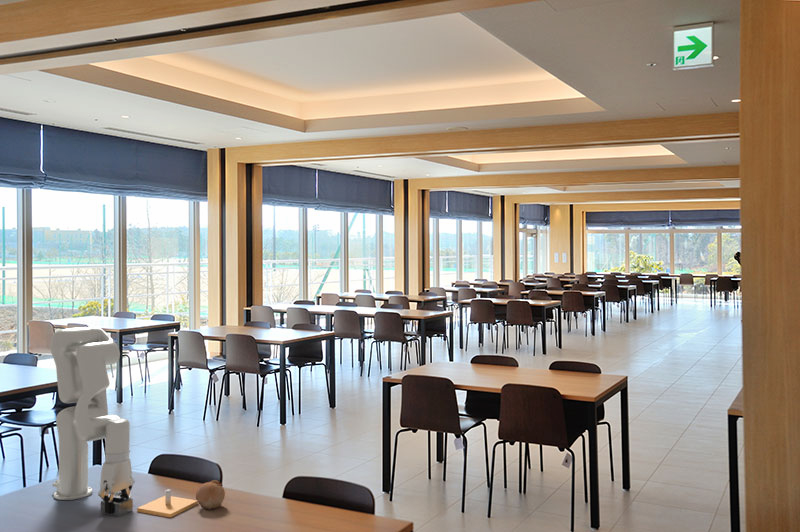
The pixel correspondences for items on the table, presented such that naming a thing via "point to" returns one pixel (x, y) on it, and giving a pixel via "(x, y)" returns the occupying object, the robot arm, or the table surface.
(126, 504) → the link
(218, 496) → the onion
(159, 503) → the wooden peg base
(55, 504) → the table surface
